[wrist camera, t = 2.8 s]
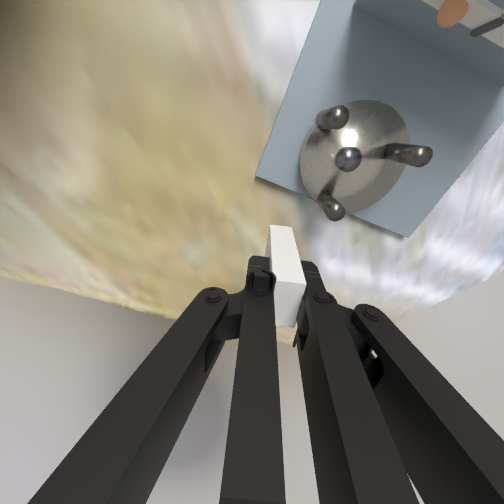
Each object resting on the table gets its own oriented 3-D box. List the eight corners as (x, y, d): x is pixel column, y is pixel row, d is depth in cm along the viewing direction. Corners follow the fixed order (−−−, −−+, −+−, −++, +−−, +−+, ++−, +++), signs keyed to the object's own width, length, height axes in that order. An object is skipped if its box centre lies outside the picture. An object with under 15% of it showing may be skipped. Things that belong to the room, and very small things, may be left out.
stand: (255, 173, 31) (251, 195, 21) (332, -32, 21) (392, -169, 11) (404, 234, 34) (460, 278, 24) (527, 79, 24) (703, 47, 15)
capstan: (281, 186, 30) (286, 203, 23) (328, 81, 24) (352, 64, 18) (361, 219, 31) (387, 243, 25) (422, 127, 26) (476, 128, 19)
